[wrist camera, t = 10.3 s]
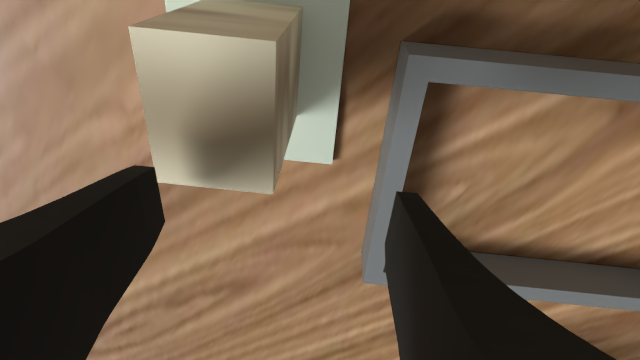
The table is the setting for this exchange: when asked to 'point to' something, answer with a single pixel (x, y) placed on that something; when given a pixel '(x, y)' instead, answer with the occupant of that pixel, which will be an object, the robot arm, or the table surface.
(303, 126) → the mat
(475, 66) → the gray rectangular frame
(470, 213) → the table surface
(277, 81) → the birch block
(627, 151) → the table surface
